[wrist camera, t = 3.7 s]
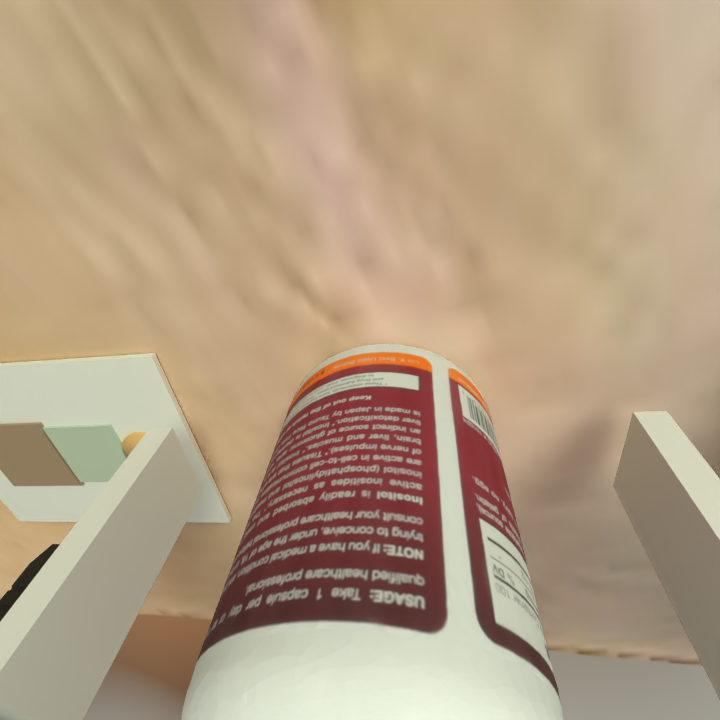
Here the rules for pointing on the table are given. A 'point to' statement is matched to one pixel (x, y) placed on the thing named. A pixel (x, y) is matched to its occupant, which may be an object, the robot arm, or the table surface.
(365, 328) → the table surface
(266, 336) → the table surface
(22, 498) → the page
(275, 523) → the pill bottle
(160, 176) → the table surface
